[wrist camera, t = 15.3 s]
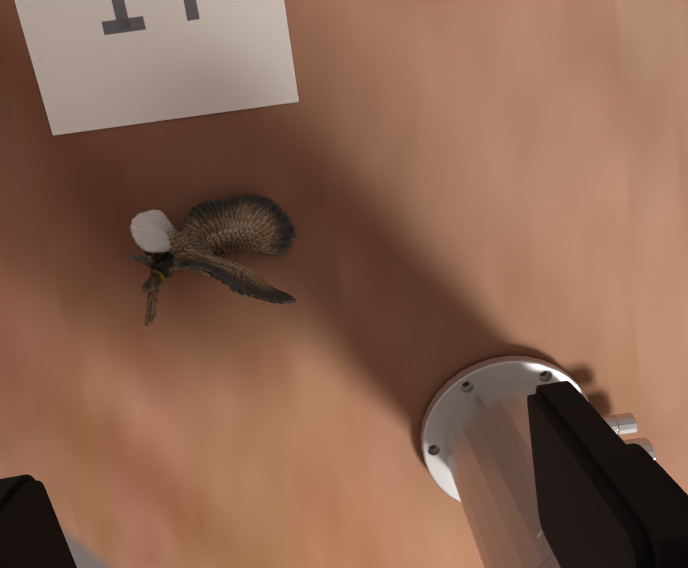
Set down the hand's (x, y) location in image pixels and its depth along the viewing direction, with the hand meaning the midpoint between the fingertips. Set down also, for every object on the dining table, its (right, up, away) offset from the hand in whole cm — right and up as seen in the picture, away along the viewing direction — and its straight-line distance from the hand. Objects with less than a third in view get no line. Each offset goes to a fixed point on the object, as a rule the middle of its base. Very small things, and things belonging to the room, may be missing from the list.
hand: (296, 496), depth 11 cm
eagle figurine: (-7, +7, +26) cm, 28 cm away
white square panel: (-10, +21, +21) cm, 31 cm away
